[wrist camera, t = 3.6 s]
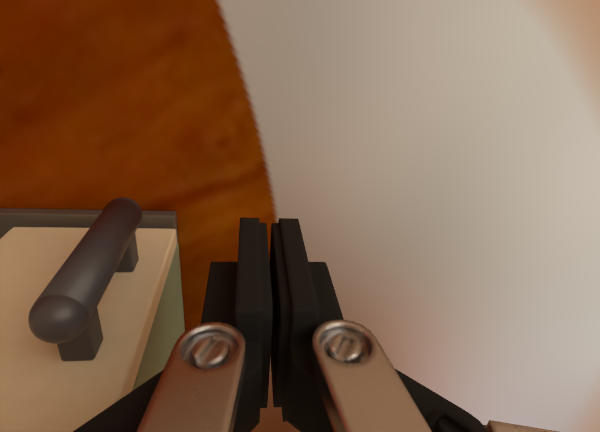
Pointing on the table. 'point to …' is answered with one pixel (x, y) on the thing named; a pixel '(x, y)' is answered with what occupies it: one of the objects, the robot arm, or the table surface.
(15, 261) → the door
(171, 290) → the cupboard
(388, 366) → the robot arm
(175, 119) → the table surface
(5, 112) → the table surface
